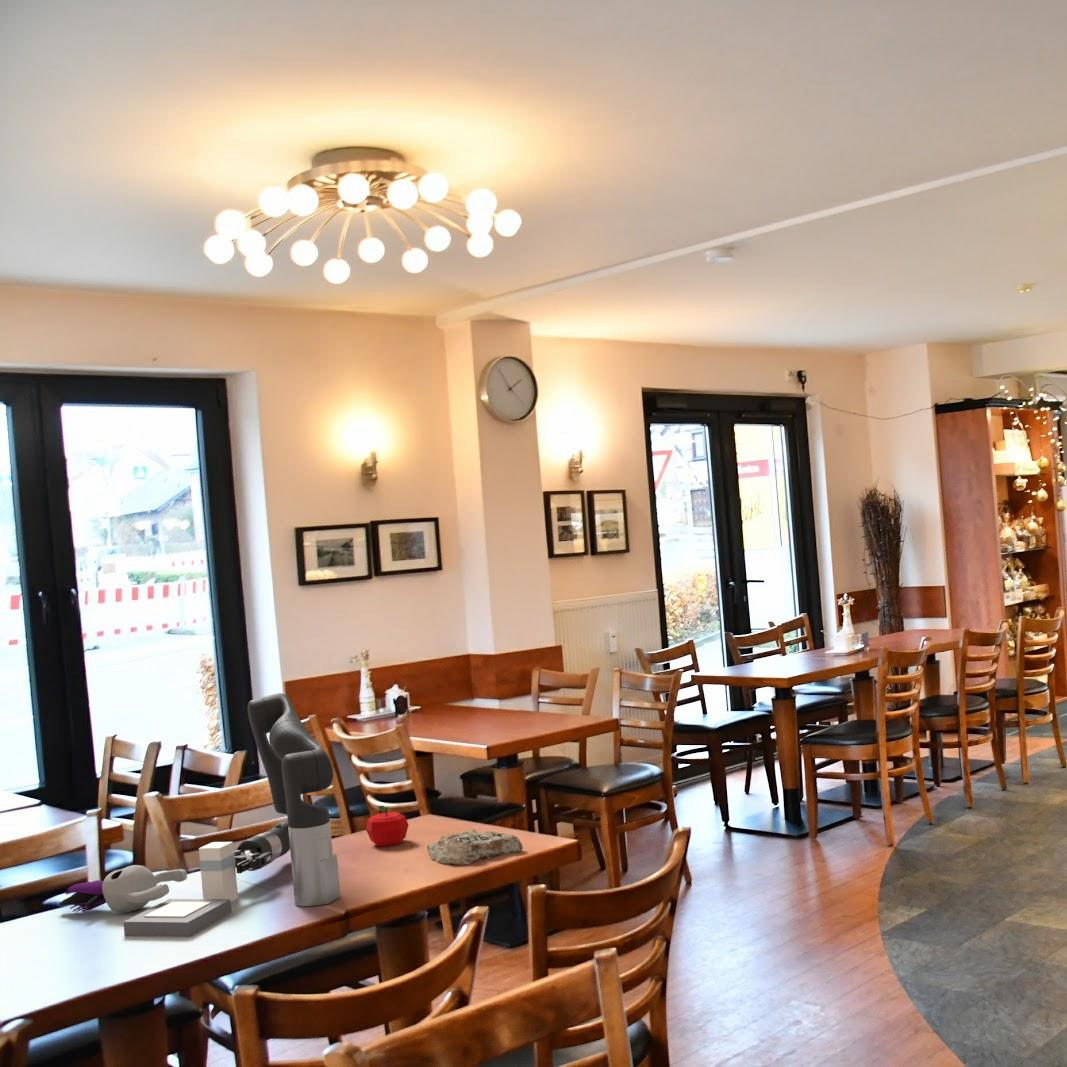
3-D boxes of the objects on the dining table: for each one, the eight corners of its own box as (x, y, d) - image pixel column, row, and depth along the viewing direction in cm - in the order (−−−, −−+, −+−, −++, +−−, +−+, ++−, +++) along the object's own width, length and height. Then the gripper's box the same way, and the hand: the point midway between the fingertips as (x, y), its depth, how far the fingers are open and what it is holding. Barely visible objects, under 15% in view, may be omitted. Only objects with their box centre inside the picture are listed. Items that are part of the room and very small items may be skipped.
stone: (459, 848, 284) (402, 832, 303) (461, 872, 284) (404, 855, 303) (523, 831, 296) (464, 817, 315) (524, 855, 296) (466, 839, 315)
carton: (238, 898, 276) (233, 841, 276) (224, 905, 271) (219, 848, 271) (217, 898, 278) (212, 842, 278) (203, 905, 273) (198, 848, 273)
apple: (417, 840, 317) (413, 803, 317) (385, 850, 309) (382, 811, 310) (391, 837, 324) (388, 800, 325) (360, 846, 317) (356, 808, 317)
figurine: (74, 872, 285) (186, 845, 279) (86, 911, 286) (198, 885, 280) (35, 897, 270) (152, 869, 264) (47, 938, 270) (165, 912, 264)
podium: (231, 912, 264) (230, 897, 264) (188, 936, 249) (187, 921, 249) (170, 912, 269) (169, 897, 269) (124, 935, 254) (123, 920, 254)
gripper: (233, 835, 294) (194, 853, 278) (284, 835, 289) (247, 852, 274) (235, 866, 293) (196, 885, 278) (286, 866, 289) (250, 885, 273)
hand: (221, 869), depth 276 cm, fingers open, 8 cm apart
